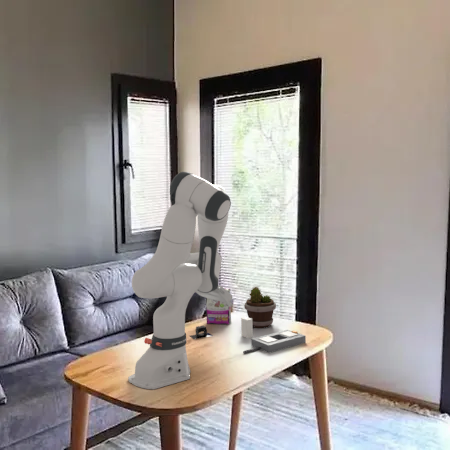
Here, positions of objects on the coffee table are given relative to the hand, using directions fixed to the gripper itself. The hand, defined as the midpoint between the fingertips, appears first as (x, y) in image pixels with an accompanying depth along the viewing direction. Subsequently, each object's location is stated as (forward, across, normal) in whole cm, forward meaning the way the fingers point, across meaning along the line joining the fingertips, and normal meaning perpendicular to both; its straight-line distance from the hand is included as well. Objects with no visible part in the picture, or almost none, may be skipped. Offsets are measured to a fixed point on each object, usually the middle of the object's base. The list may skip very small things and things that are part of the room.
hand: (223, 303), depth 220 cm
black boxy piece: (+10, +14, +14) cm, 22 cm away
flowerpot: (+31, +9, -8) cm, 33 cm away
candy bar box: (+22, +25, +1) cm, 33 cm away
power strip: (+20, -17, +4) cm, 26 cm away
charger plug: (+20, 0, +3) cm, 20 cm away
